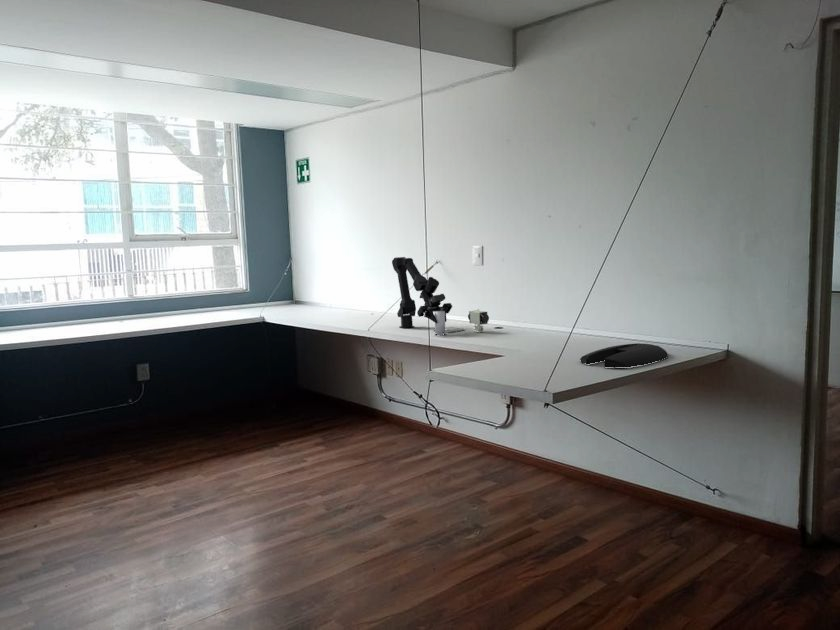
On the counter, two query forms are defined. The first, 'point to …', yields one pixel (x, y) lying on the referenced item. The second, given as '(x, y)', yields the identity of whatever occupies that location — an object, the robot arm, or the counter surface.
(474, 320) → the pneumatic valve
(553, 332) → the counter surface
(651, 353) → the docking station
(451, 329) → the flange plate
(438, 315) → the grey cylinder
